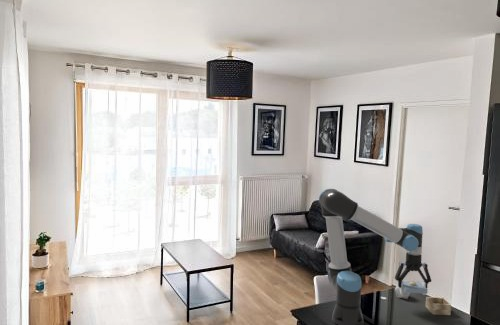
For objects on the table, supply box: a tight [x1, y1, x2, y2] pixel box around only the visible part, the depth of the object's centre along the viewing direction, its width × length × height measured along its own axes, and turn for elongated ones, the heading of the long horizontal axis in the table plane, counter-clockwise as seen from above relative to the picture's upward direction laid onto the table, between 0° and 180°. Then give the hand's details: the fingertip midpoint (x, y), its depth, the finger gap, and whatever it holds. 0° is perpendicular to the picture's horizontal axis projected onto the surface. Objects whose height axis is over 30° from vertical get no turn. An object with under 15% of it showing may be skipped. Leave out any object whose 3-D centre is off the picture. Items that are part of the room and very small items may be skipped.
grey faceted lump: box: [394, 283, 411, 300], centre depth 211 cm, size 8×9×10 cm
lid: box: [402, 280, 429, 295], centre depth 194 cm, size 11×11×4 cm
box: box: [425, 296, 452, 316], centre depth 194 cm, size 9×9×6 cm
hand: (412, 293), depth 194 cm, fingers closed on lid, 11 cm apart
